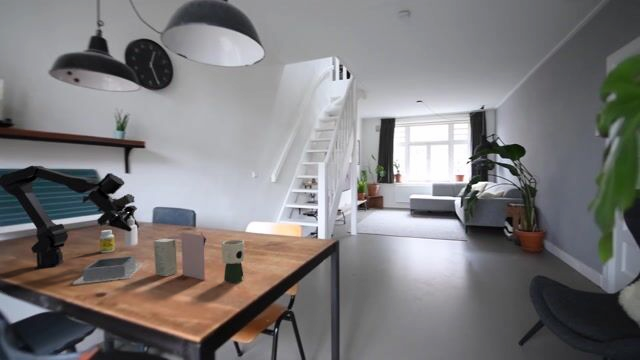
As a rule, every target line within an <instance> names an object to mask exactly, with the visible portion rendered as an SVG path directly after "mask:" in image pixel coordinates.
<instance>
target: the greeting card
mask: <svg viewBox="0 0 640 360" xmlns="http://www.w3.org/2000/svg"><path fill="white" fill-rule="evenodd" d="M206 241H207V238H206V237H205V236H204V233H203V231H202V229H201V230H200V235H199V234H193V233H187V232H181V258H182V259H181V260H182V261H181V263H182V267H181V268H182V276H186V277H190V278H195V279H199V280H201V281H205V280H206V279H205V278H206V277H205V275H206V274H205V272H206V271H205V245H206Z"/></svg>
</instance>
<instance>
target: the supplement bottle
mask: <svg viewBox="0 0 640 360" xmlns="http://www.w3.org/2000/svg"><path fill="white" fill-rule="evenodd" d="M112 233H113V230H112V229H106V230H104V229H103V230H101V233H100V234H101V235H100V236H99V250H100V253H102V254H103V253H112V252H113V251H114V252H115V235H114V234H112Z"/></svg>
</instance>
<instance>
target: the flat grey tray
mask: <svg viewBox="0 0 640 360" xmlns="http://www.w3.org/2000/svg"><path fill="white" fill-rule="evenodd" d="M143 265H144V262H136V255H131V256H129V255H128V256H119V257H118V256H117V257H109V258H107V257H106V258H97V259H96V260H95V261H93V262H91V264H89V265H87V266H86V267H84V268H83V269H82V276H81V277H79V278H78V279H76V280H75V281H73V282H72V285H73V286H75V285H83V284H90V283H91V284H92V283H101V282H109V281H110V282H111V280H112V281H119V280H118V279H121V280H127V279H128V280H129V278H130V279H131V278H132V277H133V276H134V275H135V274H136V272H137V271H139V269H140V268H141V267H142V266H143ZM131 276H132V277H131Z"/></svg>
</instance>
